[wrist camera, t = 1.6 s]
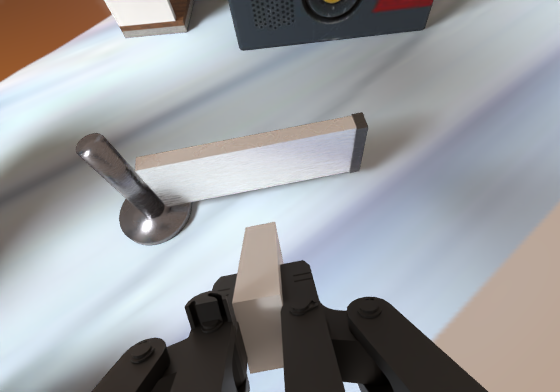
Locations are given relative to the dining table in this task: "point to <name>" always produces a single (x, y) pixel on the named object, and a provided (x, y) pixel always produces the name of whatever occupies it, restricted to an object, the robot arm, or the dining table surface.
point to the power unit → (322, 20)
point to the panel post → (134, 195)
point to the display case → (151, 16)
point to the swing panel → (255, 161)
